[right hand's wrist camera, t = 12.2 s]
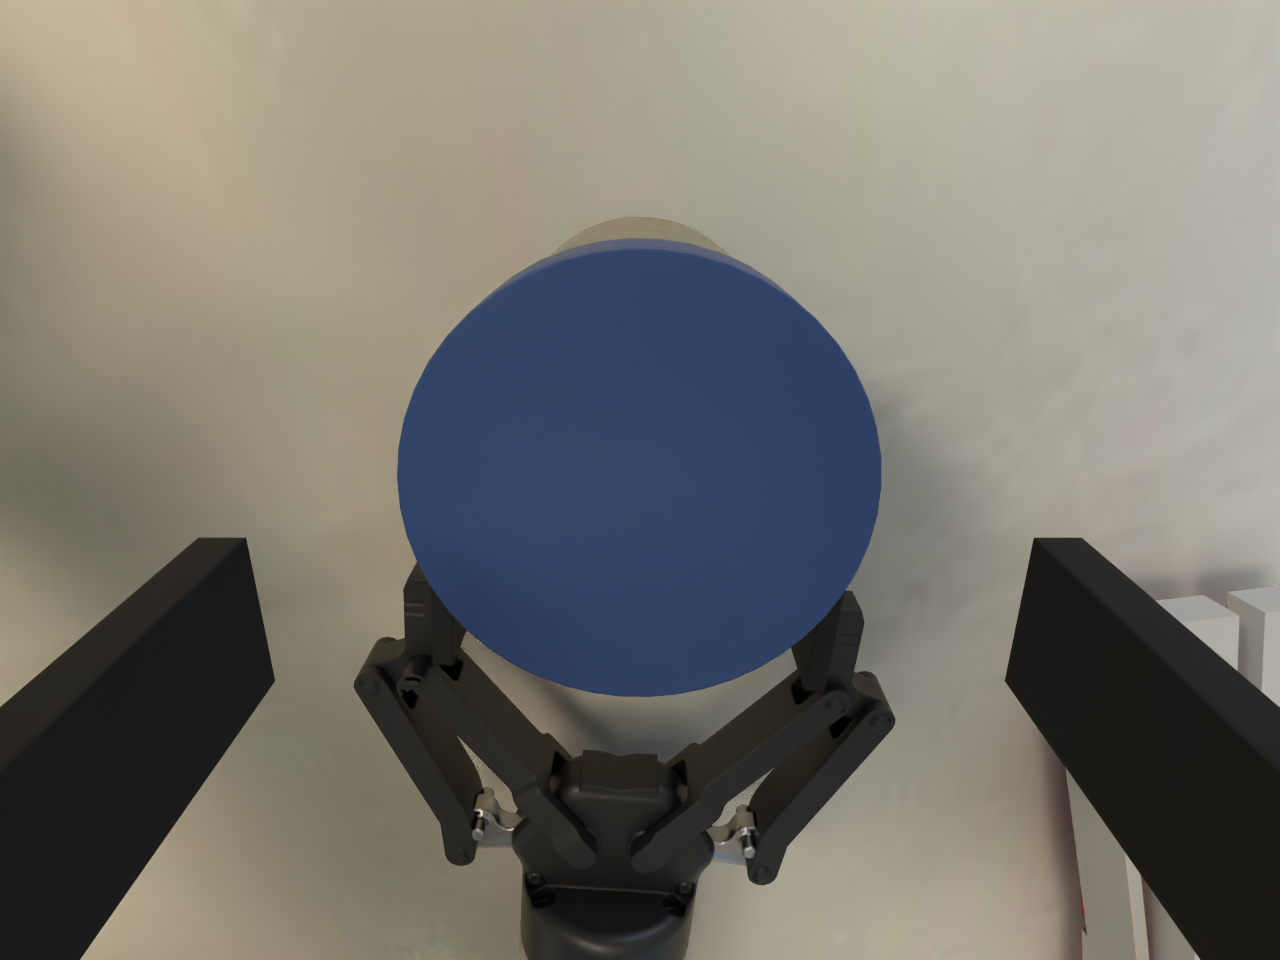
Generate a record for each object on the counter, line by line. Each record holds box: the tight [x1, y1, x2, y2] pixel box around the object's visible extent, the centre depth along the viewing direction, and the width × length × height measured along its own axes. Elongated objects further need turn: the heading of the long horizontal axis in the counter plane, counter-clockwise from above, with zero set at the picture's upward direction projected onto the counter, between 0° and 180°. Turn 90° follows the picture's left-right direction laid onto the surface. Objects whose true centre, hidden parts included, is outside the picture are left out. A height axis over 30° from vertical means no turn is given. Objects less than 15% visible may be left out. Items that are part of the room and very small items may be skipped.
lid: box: [397, 238, 881, 697], centre depth 19 cm, size 11×11×2 cm
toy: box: [1065, 585, 1280, 960], centre depth 37 cm, size 12×13×30 cm
